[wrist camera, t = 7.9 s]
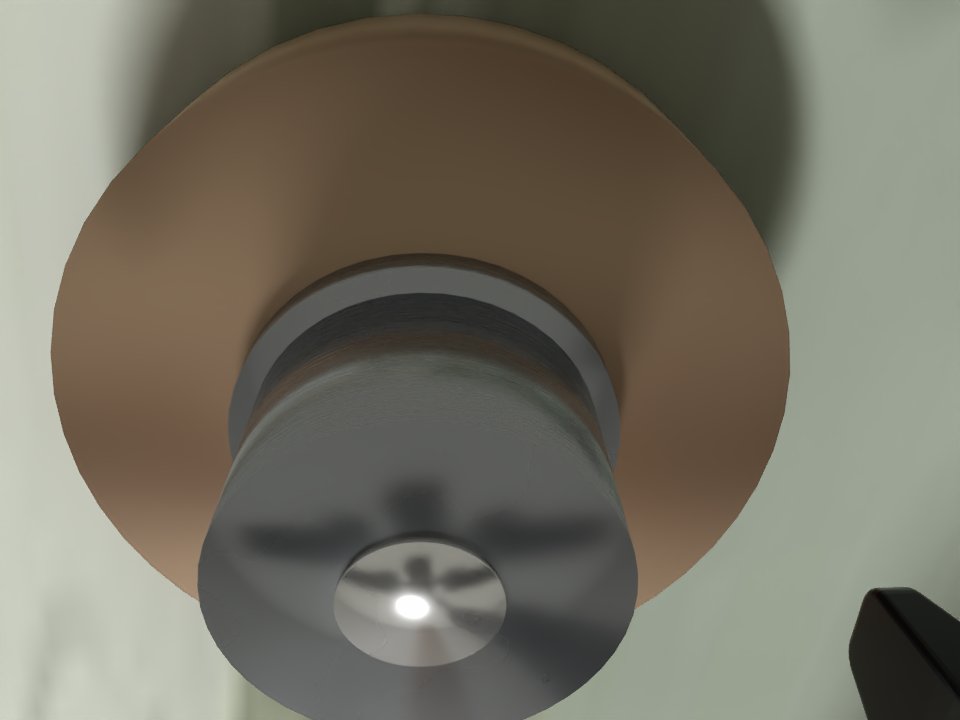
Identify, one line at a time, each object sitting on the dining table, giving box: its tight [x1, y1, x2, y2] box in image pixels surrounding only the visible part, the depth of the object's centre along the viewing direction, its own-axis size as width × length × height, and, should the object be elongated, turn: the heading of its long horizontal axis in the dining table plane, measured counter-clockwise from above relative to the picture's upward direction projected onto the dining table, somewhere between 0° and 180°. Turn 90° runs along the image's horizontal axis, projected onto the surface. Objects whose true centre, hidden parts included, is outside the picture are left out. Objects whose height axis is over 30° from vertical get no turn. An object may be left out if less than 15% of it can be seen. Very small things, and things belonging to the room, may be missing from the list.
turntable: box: [51, 14, 790, 609], centre depth 11 cm, size 14×10×7 cm
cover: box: [197, 253, 638, 720], centre depth 10 cm, size 5×5×3 cm
